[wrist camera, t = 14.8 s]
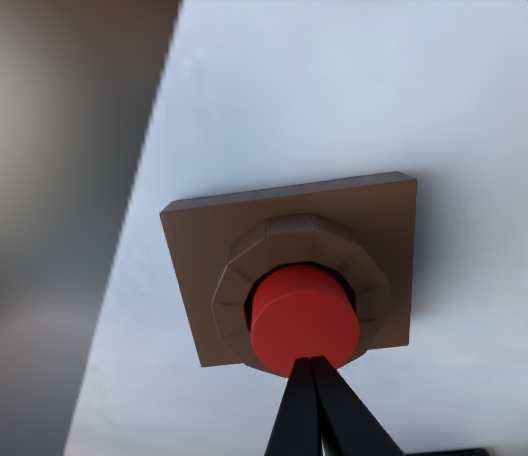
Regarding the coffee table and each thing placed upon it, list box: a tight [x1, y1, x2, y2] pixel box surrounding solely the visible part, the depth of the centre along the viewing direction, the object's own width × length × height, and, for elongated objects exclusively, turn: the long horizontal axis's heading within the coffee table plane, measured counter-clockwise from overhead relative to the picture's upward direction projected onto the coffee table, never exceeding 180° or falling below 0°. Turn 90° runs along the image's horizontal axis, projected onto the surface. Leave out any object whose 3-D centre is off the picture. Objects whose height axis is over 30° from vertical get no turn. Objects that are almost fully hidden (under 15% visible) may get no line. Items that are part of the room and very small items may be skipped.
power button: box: [251, 265, 360, 376], centre depth 11 cm, size 4×4×2 cm
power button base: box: [159, 172, 417, 378], centre depth 13 cm, size 10×8×4 cm
